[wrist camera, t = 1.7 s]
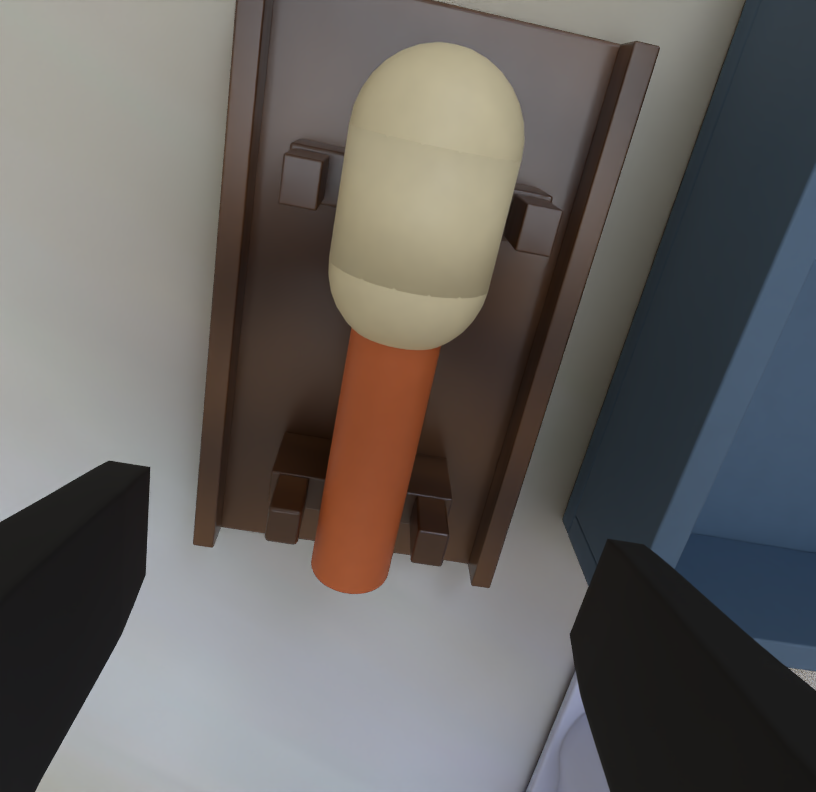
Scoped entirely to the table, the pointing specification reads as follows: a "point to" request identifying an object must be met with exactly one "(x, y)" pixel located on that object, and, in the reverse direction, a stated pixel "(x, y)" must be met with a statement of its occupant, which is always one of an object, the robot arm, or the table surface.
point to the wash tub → (727, 357)
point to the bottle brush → (407, 277)
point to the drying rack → (309, 264)
